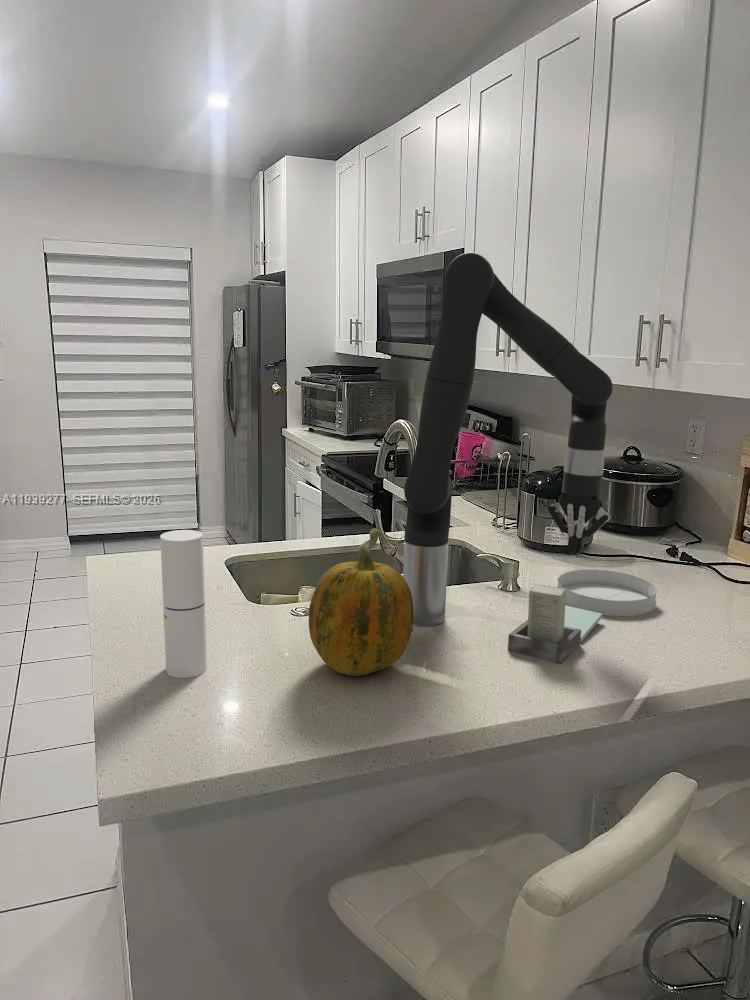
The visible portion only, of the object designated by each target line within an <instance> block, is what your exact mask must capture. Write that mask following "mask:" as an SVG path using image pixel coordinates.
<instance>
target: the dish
mask: <svg viewBox="0 0 750 1000" xmlns="http://www.w3.org/2000/svg"><path fill="white" fill-rule="evenodd" d="M556 586H557V587H556V588H563V589H566V602H565V605H566V606H570V607H575V608H579V609H584V610H588V611H593V612H597V613H602V616H612V617H614V616H615V617H633V616H641V615H644V614H648V613H650V612H652V611H654V610H656V607H657V601H656V598H657V589H656V586H655V585H653V584H652V583H651V582H650V581H648V580H647V579H644V578H642V577H638V576H636V575H633V574H628V573H624V572H619V571H613V570H603V569H576V570H571V571H567V572H564V573H562V574H560V575H559V577H558V578H557V585H556Z"/></svg>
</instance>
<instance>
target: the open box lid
mask: <svg viewBox="0 0 750 1000" xmlns="http://www.w3.org/2000/svg"><path fill="white" fill-rule="evenodd" d="M602 618H603V615H602V613H597V612H593V611H588V610H584V609H579V608H575V607H571V606H568V605H566V604H565V621H564V626H567V627H572V628H576V629H580V630H581V639H580V644H581V643H582V642H583V641H584V640H585V639H586V637H587V636H588V635H589V634H590V633H591V631H592V630H593V629H594V628H595V627H596V625H597V624H599V622H600V621H601V619H602Z"/></svg>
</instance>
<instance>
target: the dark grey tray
mask: <svg viewBox="0 0 750 1000" xmlns="http://www.w3.org/2000/svg"><path fill="white" fill-rule="evenodd" d="M527 633H528V619H527V620H525V621H524V622H523V623H522V624H520V625H519V626H518V627H516V628H515V629H514V630H512V631H511V632H510V633H508V640H507V651H510V652H513V653H517V654H521V655H525V656H529V657H533V658H536V659H539V660H544V661H547V662H550V663H555V664H557V665H558V664H559V665H562V664H563V662H566V660H567V659H568V658H569V657H570V656H571V655H572V654H573V653H574V652H575V651H576V650H577V649H578V648H579V647H581V643H580V639H581V630H580V629H576V628H572V627H567V626H564V637H563V641H562V642H561V643H560V644H559V645H558V644H554V643H550V642H546V641H542V640H538V639H534V638H531V637H527Z"/></svg>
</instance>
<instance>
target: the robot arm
mask: <svg viewBox="0 0 750 1000" xmlns="http://www.w3.org/2000/svg"><path fill="white" fill-rule="evenodd" d="M443 288H444V289H443V300H442V310H441V318H440V324H439V328H438V333H437V335H436V338H435V342H434V345H433V350H432V353H431V356H430V361H429V365H428V369H427V373H426V377H425V382H424V387H423V394H422V398H421V399H422V400H421V401H422V402H421V406H420V413H419V414H420V415H419V420H418V421H419V423H418V433H417V434H418V435H417V442H416V447H415V451H414V454H413V458H412V460H411V461H412V462H411V464H410V467H409V468H410V469H409V471H408V475H407V477H406V480H405V482H404V487H403V492H404V493H403V494H404V497H405V501H406V502H407V515H406V521H405V527H404V539H403V540H404V543H403V546H404V547H403V571H402V572H403V573H401V574H400V575H402V577H403V578H404V579H405V580H406V582H407V584H408V586H409V588H410V591H411V594H412V599H413V609H414V620H413V625H416V626H426V627H427V626H434V625H435V626H436V625H439V624H442V623H443V622H444V621H445V620H446V603H447V600H446V599H447V582H448V581H447V579H448V560H449V559H448V556H449V533H450V528H451V527H450V526H451V516H452V515H451V514H452V513H451V511H452V500H453V499H452V498H453V497H452V495H453V483H452V479H451V476H450V471H451V463H452V457H453V451H454V447H455V444H456V441H457V439H458V437H459V434H460V431H461V429H462V425H463V422H464V420H465V417H466V413H467V410H468V407H469V402H470V397H471V393H472V388H473V382H474V377H475V370H476V361H477V360H476V359H477V357H476V356H477V339H478V331H479V326H480V323H481V319H482V315H484V316H485V317H486V318H488V319H489V320H490V321H492V322H493V323H494V324H495V325H496V326H498V327H499V328H500V329H501V330H502V331H503V332H504V333H505V334H506V335H507V336H508V337H509V338H510V339H511V340H512V341H513V342H514V343H515V344H516V345H517V346H518V347H519V348H520V349H521V350H522V351H523V352H524V353H525V354H526V355H527V356H528V357H529V358H531V360H532V361H533V362H534V363H536V364H537V365H538V366H539V367H540V368H542V369H543V370H544V371H545V372H546V373H548V374H549V375H551V376H552V377H553V378H554V379H556V380H558V382H559V383H560V384H561V385H562V386H563V387H564V388H565V389H567V391H568V392H569V393H570V394H571V405H570V406H571V409H570V410H571V412H570V415H571V417H570V425H569V430H568V437H567V438H568V440H567V447H566V453H565V457H564V463H563V477H562V488H561V495H560V496H559V498H558V501H557V502H556V503H553V504H551V505H549V506H548V507H547V511H548V513H549V515H550V516H551V517H552V519H553V522H555V524H556V526H557V527H558V529H559V531H560V532H561V533H565V534H567V535H568V539H567V551H568V552H569V555H571V556H579V555H580V554H581V553H582V552H583V551H584V547H585V538H586V537H588V538H589V537H591V536H593V535H595V533H596V532H598V530H599V529H601V528H602V527H603V526H604V525H605V524H606V523H607V522H608V521H609V520H611V518H612V514H611V513H610V512H607V511H605V509H604V508H602V507H603V504H602V501H601V495H602V487H603V486H602V484H603V478H604V477H603V475H604V468H605V467H604V466H605V445H606V436H607V423H606V411H607V402H608V400H609V399H610V397H611V396H612V394H613V387H614V386H613V382H612V379H611V377H610V376H609V375H608V374H607V372H605V371H604V370H603V369H601V368H600V367H599V366H598V365H596V364H595V363H594V362H593V361H591V360H590V359H589V358H587V357H586V356H585V355H583V354H582V353H581V352H580V351H579V350H578V349H577V348H576V347H575V346H574V344H573V343H571V342H570V341H569V339H567V338H566V337H565V335H563V334H562V333H560V332H559V331H558V330H557V329H556V328H555V327H553V326H552V325H551V324H550V323H549V322H548V321H546V320H545V319H544V318H542V317H541V316H539V315H538V314H537V313H535V312H534V311H532V310H531V309H530V308H529V307H527V306H526V305H525V304H523V302H521V301H520V300H519V299H518V298H517V297H516V296H515V295H514V294H513V293H511V292H510V291H509V289H507V287H506V286H505V285H504V284H503V283H502V281H501V280H500V278H499V277H498V276H497V275H496V274H495V272H494V269H493V267H492V265H491V263H490V262H489V261H488V259H486V258H485V257H484V256H482V254H479V253H477V252H463V253H462V254H460V255H458V256H456V257H455V258H454V259H453V260H452V261H450V263H449V265H448V266H447V269H446V271H445V275H444V287H443ZM562 511H563V513H564V514H565V516H566V517H565V516H564V514H563V513H562ZM596 514H597V515H596ZM595 515H596V520H597V521H595V523H593V524H592V525H591V526H590V527H589V528H588V525H589V522H590V520H592V518H593V517H595ZM566 518H567V519H566Z"/></svg>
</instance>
